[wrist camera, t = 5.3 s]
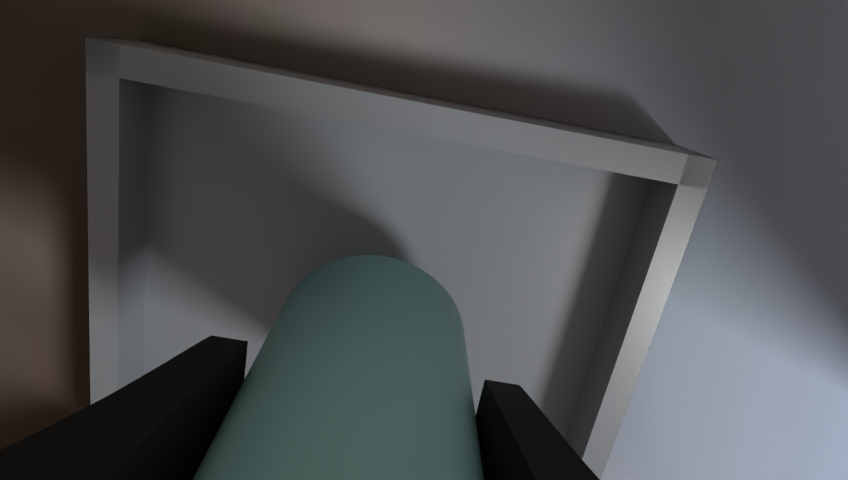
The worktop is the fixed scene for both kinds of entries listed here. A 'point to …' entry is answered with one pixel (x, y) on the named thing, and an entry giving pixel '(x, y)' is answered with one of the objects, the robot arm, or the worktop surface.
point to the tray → (375, 222)
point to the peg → (355, 384)
